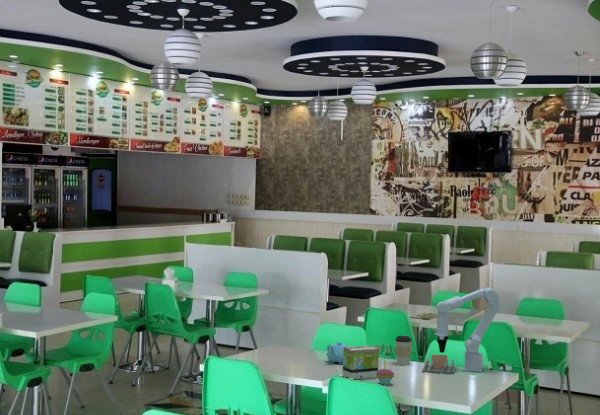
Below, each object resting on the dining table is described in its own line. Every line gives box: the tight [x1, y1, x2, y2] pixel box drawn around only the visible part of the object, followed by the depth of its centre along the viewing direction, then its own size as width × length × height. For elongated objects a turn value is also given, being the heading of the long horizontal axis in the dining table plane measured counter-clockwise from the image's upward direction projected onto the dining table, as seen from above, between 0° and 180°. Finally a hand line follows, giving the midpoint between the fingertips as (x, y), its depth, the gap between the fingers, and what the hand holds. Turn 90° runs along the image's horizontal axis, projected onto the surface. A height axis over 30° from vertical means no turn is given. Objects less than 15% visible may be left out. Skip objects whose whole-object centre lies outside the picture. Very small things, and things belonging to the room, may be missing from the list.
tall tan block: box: [430, 353, 448, 369], centre depth 402 cm, size 8×2×7 cm, turn 75°
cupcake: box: [376, 359, 395, 386], centre depth 370 cm, size 9×8×12 cm
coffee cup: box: [394, 335, 413, 366], centre depth 418 cm, size 9×9×15 cm
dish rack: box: [421, 357, 457, 375], centre depth 402 cm, size 16×14×5 cm
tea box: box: [342, 345, 380, 380], centre depth 384 cm, size 15×10×15 cm, turn 117°
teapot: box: [326, 341, 349, 365], centre depth 419 cm, size 13×14×11 cm
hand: (442, 351), depth 406 cm, fingers open, 7 cm apart
